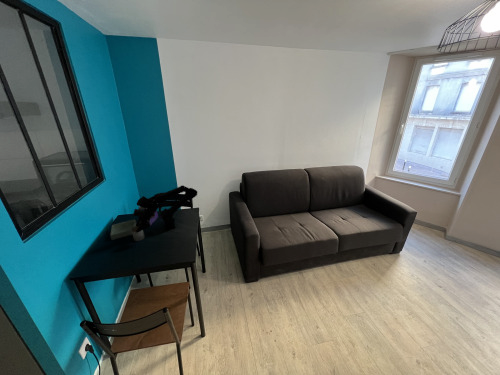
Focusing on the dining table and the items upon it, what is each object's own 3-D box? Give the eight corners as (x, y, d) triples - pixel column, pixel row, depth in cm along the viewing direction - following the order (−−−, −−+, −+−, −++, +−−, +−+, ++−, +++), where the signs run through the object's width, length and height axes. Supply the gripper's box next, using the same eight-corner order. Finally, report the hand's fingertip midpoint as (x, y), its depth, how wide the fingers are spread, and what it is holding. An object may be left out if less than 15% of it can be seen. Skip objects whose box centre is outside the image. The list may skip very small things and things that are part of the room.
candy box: (150, 226, 146) (145, 207, 140) (143, 226, 146) (137, 207, 140) (158, 216, 159) (154, 199, 153) (151, 216, 159) (147, 199, 153)
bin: (136, 223, 150) (135, 219, 148) (136, 233, 138) (135, 228, 136) (113, 229, 143) (112, 225, 141) (112, 240, 131) (110, 235, 129)
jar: (144, 234, 136) (141, 224, 133) (144, 239, 131) (141, 228, 128) (134, 237, 133) (130, 227, 130) (134, 242, 128) (130, 231, 125)
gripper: (139, 200, 133) (124, 217, 132) (140, 210, 118) (124, 231, 117) (153, 207, 140) (140, 224, 139) (156, 218, 125) (141, 237, 124)
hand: (136, 228), depth 129 cm, fingers open, 9 cm apart
